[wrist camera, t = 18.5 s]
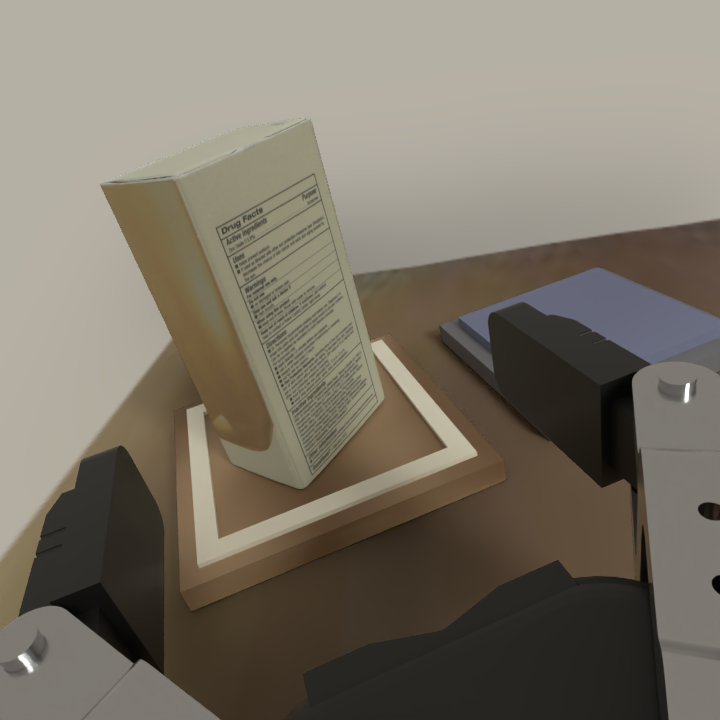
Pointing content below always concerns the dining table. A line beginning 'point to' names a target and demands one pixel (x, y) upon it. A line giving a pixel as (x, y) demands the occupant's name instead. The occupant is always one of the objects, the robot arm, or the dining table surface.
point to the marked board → (323, 485)
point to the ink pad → (601, 322)
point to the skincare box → (256, 293)
